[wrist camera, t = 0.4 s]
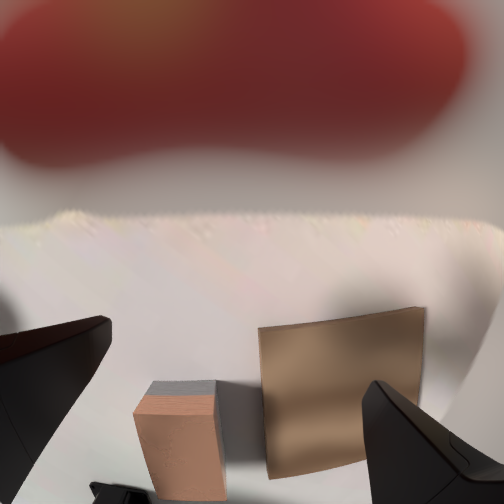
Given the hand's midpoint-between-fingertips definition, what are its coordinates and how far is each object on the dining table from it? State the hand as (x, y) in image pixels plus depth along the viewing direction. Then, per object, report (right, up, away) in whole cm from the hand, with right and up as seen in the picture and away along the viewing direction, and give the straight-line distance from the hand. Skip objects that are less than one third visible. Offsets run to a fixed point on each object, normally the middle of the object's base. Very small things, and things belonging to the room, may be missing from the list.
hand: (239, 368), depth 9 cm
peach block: (-5, -10, +12) cm, 17 cm away
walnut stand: (+8, -9, +13) cm, 18 cm away
